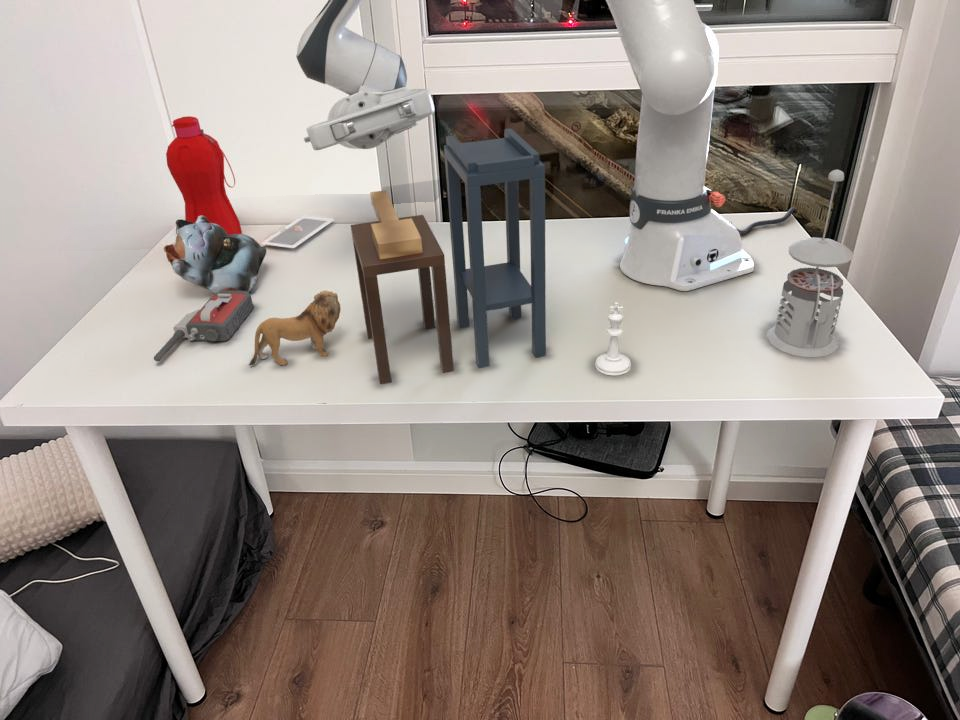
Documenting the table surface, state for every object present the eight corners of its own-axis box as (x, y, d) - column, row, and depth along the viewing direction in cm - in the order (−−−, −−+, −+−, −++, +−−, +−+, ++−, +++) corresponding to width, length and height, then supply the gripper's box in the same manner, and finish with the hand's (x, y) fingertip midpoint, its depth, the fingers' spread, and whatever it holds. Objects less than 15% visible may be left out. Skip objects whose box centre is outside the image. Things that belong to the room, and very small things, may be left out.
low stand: (433, 322, 119) (423, 214, 109) (453, 371, 107) (444, 254, 97) (367, 334, 117) (350, 224, 107) (380, 384, 105) (362, 266, 95)
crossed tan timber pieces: (397, 200, 114) (396, 186, 113) (422, 253, 97) (421, 237, 96) (361, 205, 113) (359, 191, 112) (379, 259, 96) (377, 243, 95)
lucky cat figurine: (247, 303, 127) (187, 244, 119) (199, 320, 133) (138, 264, 124) (278, 244, 136) (224, 186, 128) (232, 262, 142) (177, 207, 134)
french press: (831, 323, 112) (869, 158, 99) (849, 366, 103) (894, 189, 89) (762, 320, 114) (790, 157, 100) (773, 362, 104) (806, 188, 91)
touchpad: (336, 224, 155) (334, 214, 154) (294, 253, 144) (292, 243, 143) (304, 220, 158) (302, 210, 157) (260, 248, 146) (258, 238, 145)
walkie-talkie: (210, 303, 128) (151, 367, 111) (203, 279, 126) (142, 341, 109) (259, 304, 127) (207, 369, 110) (253, 280, 124) (199, 343, 108)
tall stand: (518, 313, 120) (513, 127, 104) (545, 356, 109) (545, 155, 93) (457, 323, 118) (443, 136, 102) (478, 368, 107) (466, 166, 91)
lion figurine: (341, 334, 117) (332, 282, 112) (352, 349, 113) (343, 296, 108) (246, 360, 112) (232, 307, 107) (253, 377, 108) (240, 323, 103)
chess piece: (630, 377, 103) (634, 312, 98) (593, 374, 104) (596, 310, 99) (631, 357, 107) (635, 295, 102) (596, 355, 108) (598, 293, 103)
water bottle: (243, 256, 144) (211, 123, 131) (186, 258, 144) (149, 126, 131) (256, 236, 152) (227, 109, 138) (202, 238, 152) (168, 112, 139)
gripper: (295, 121, 121) (304, 118, 108) (413, 83, 125) (435, 77, 112) (309, 159, 123) (320, 161, 110) (425, 122, 127) (448, 119, 115)
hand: (379, 118), depth 111 cm, fingers open, 8 cm apart
